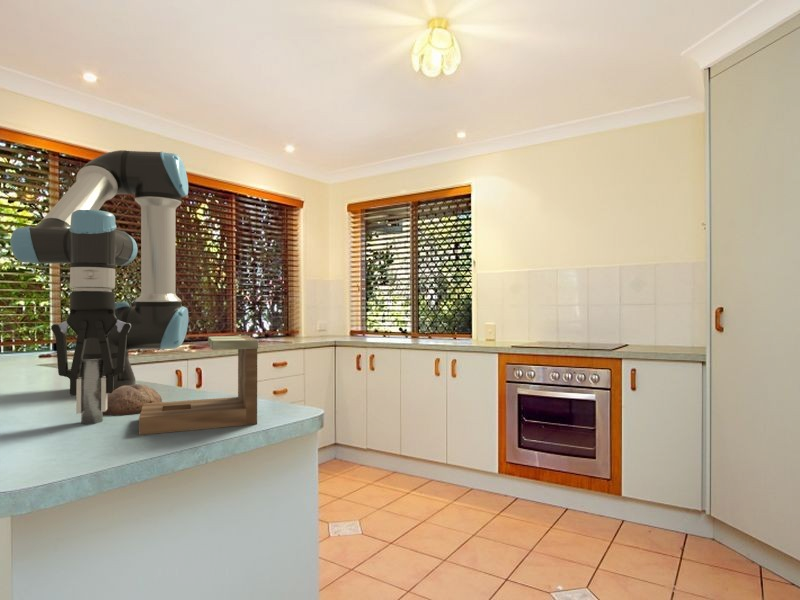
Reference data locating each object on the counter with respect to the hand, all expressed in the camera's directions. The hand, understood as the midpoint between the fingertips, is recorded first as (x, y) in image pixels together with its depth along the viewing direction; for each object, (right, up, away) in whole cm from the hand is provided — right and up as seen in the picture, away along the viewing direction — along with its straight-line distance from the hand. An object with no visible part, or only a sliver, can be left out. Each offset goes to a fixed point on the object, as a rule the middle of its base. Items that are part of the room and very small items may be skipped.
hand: (92, 410), depth 98 cm
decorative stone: (+1, -3, +12) cm, 13 cm away
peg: (0, -2, 0) cm, 2 cm away
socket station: (+21, -2, 0) cm, 21 cm away
